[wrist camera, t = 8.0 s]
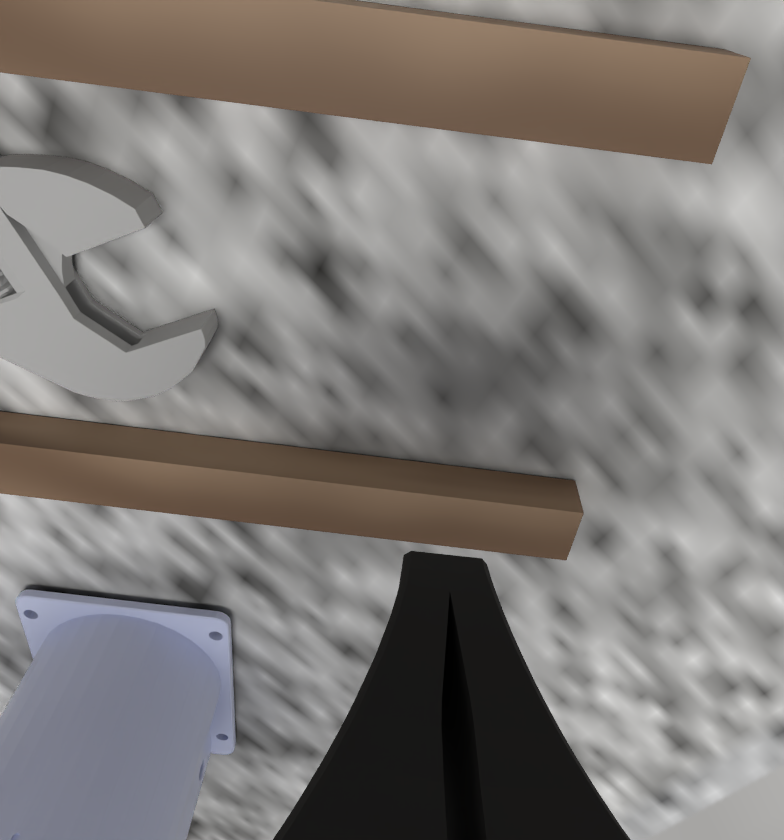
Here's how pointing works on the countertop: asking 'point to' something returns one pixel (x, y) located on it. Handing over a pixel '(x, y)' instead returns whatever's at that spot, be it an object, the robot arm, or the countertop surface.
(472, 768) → the robot arm
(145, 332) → the adjustable wrench
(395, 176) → the countertop surface
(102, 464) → the guide channel
